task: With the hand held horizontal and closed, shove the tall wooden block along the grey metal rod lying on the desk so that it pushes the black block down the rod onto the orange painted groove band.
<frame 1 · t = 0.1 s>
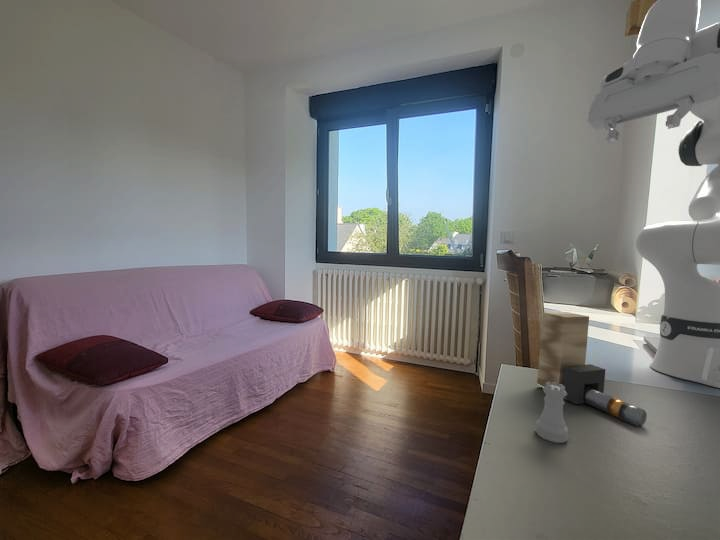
hand: (639, 133, 64), 52 cm above the table, tool tilted 20°, fingers open, 8 cm apart
tall wooden block: (562, 351, 69), point 8 cm above the table, slide at 0.0 cm
black block: (583, 383, 65), point 3 cm above the table, slide at 0.0 cm
grey metal rod: (595, 406, 63), on the table
rook chess piece: (550, 437, 51), on the table
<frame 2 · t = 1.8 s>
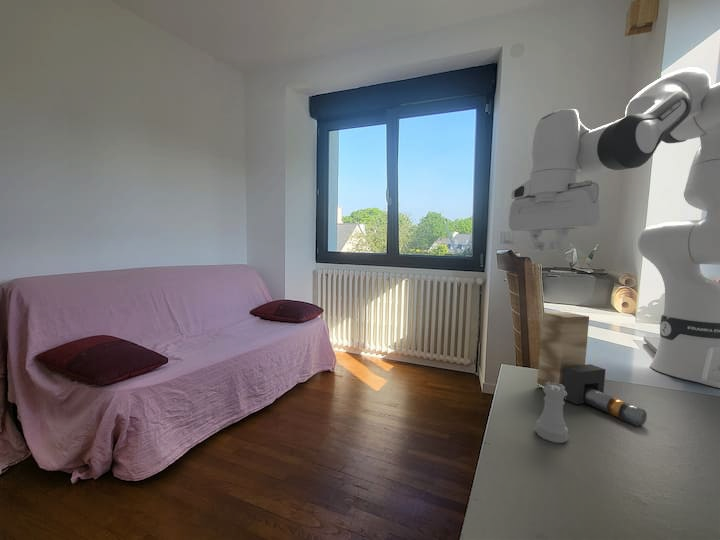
hand: (546, 250, 74), 29 cm above the table, tool pointing down, fingers open, 3 cm apart
nothing on the table moved.
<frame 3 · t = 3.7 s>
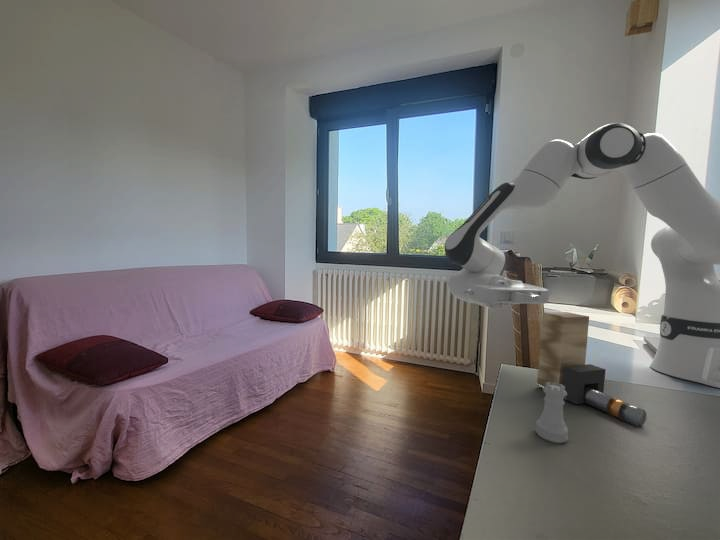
hand: (535, 299, 76), 18 cm above the table, tool horizontal, fingers closed
nothing on the table moved.
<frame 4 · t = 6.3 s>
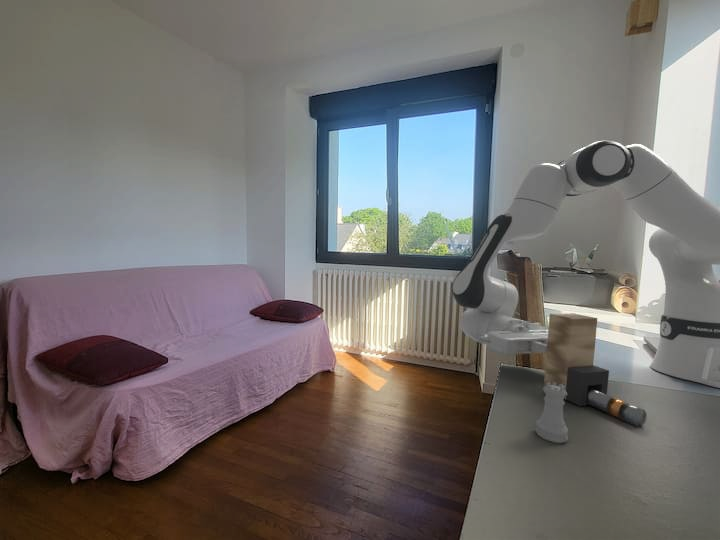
hand: (558, 351, 70), 8 cm above the table, tool horizontal, fingers closed, pressing on tall wooden block
tall wooden block: (569, 354, 68), point 8 cm above the table, slide at 1.7 cm, touching gripper, black block
black block: (587, 384, 64), point 3 cm above the table, slide at 0.7 cm, touching tall wooden block
everything else where it was.
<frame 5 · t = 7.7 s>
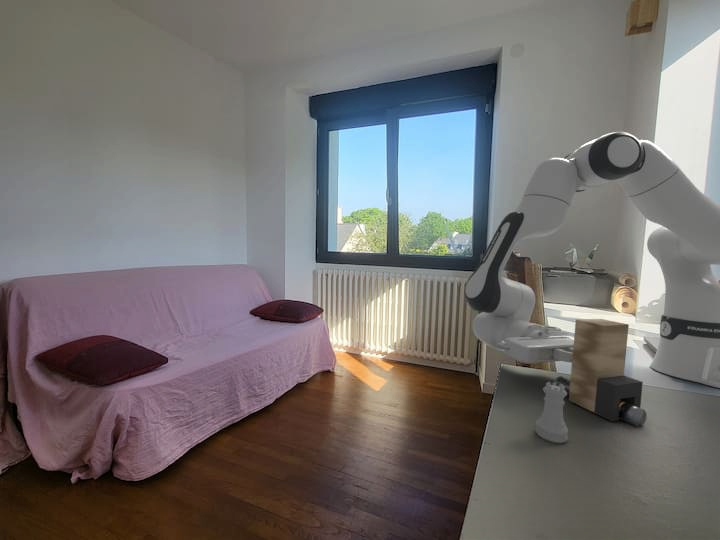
hand: (585, 360, 65), 8 cm above the table, tool horizontal, fingers closed, pressing on tall wooden block
tall wooden block: (597, 363, 63), point 8 cm above the table, slide at 7.3 cm, touching gripper, black block
black block: (618, 397, 59), point 3 cm above the table, slide at 6.3 cm, touching tall wooden block
everything else where it was.
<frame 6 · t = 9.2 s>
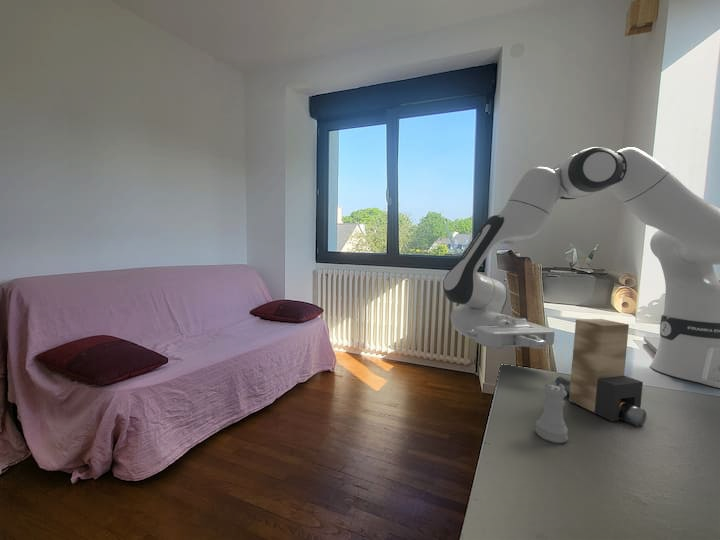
hand: (541, 345, 74), 8 cm above the table, tool horizontal, fingers closed
tall wooden block: (598, 363, 62), point 8 cm above the table, slide at 7.4 cm, touching black block
everything else where it was.
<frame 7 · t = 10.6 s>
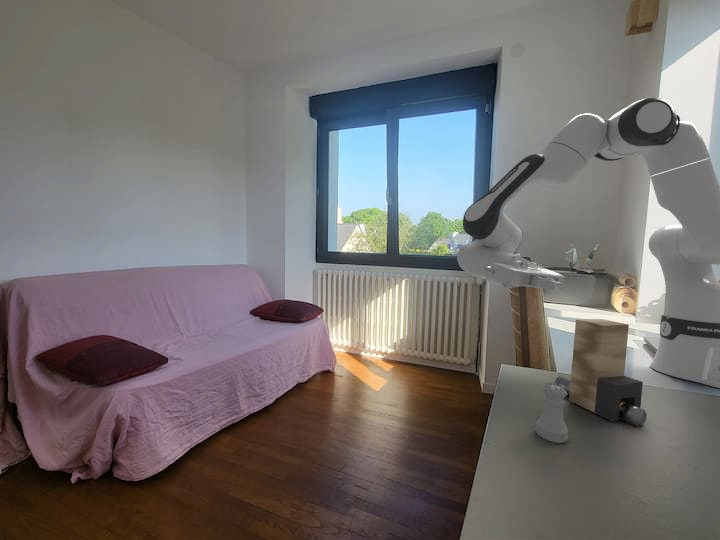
hand: (558, 287, 74), 21 cm above the table, tool horizontal, fingers closed
nothing on the table moved.
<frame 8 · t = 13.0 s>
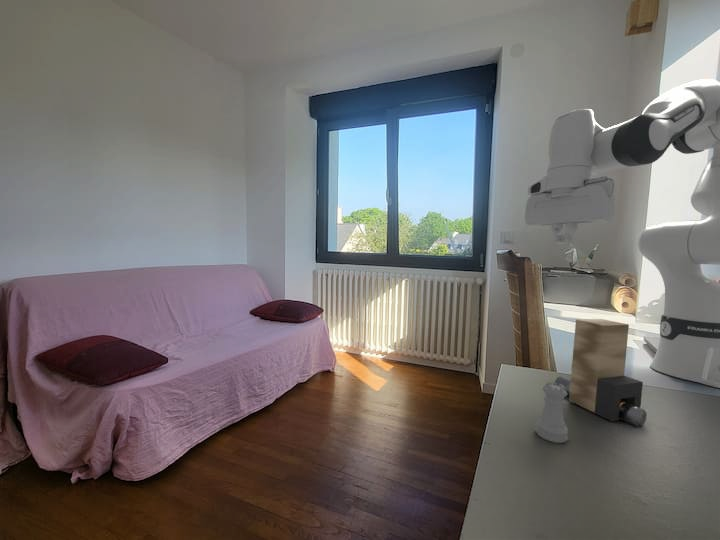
hand: (562, 243, 78), 31 cm above the table, tool pointing down, fingers closed
nothing on the table moved.
at the end: black block slide at 6.4 cm; tall wooden block slide at 7.4 cm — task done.
